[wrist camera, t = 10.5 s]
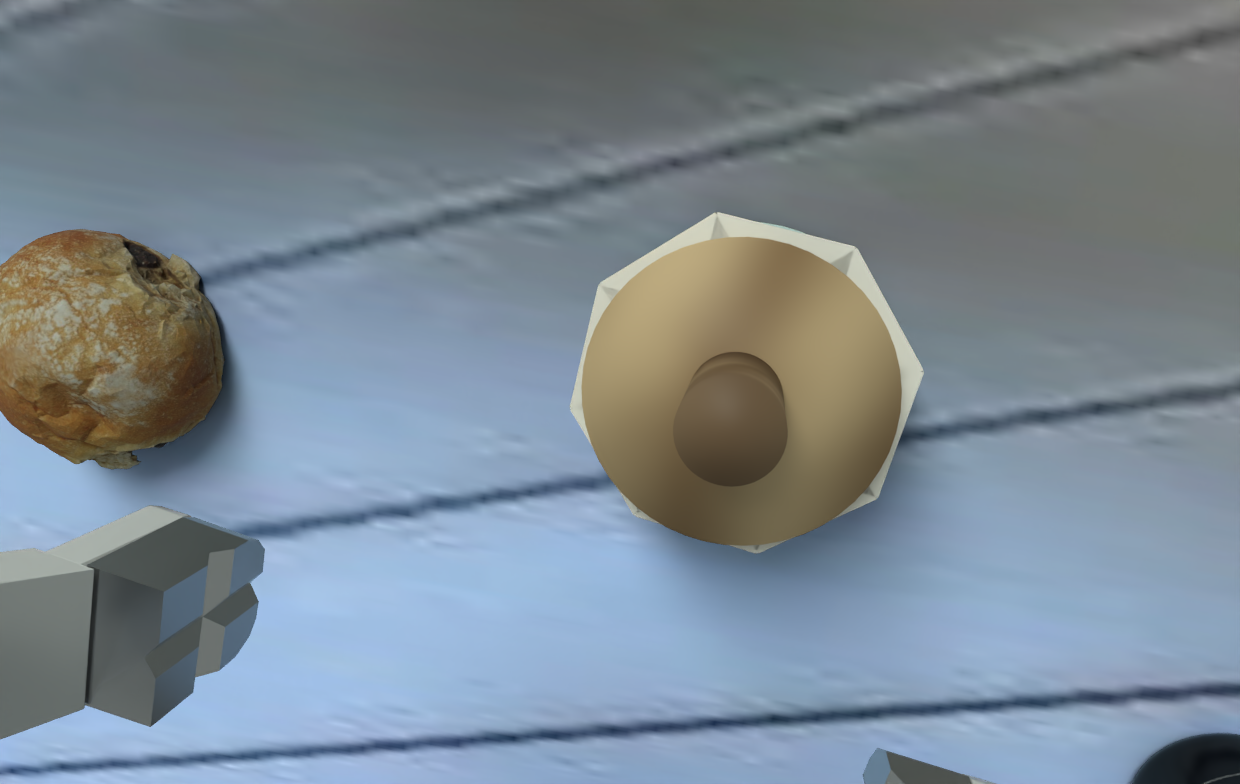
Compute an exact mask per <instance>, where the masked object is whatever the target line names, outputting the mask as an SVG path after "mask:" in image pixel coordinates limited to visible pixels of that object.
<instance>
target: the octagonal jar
mask: <svg viewBox="0 0 1240 784" xmlns="http://www.w3.org/2000/svg"><path fill="white" fill-rule="evenodd" d="M725 237H755V238H765V239H771V240H775V241H779V242H783V243H787V244H791V245H793V246H796V247H798V248H801V249H803V250H806V251H808V252H810V253H812V254H814V255H816V256H818V257H819V258H821V259H823V260H825V261H827V262H828V263H830V264H832V265H833V266H834V267H836V268H837V269H838V270H840V271H841V272H842V273H844V274H845V275H846V276H848V277H849V278H850V279H851V280H852V281H853V282H854V283H855V284H856V285H857V286H858V287H859V288H860V289H861V290H862V291H863V292H864V293H865V295H866V296H867V297H868V299H869V300H870V301H871V303H872V304H873V305H874V307H875V308H876V309H877V311H878V313H879V314H880V316H881V318H882V320H883V322H884V323H885V325H886V327H887V329H888V331H889V334H890V336H891V339H892V342H893V344H894V347H895V350H896V354H897V358H898V363H899V367H900V375H901V387H902V397H901V412H900V417H899V422H898V427H897V432H896V435H895V438H894V441H893V444H892V446H891V449H890V452H889V454H888V456H887V458H886V460H885V462H884V464H883V465H882V467H881V469H880V471H879V472H878V474H877V475H876V477H875V478H874V480H873V481H872V482H871V484H870V485H869V487H868V488H867V489H866V490H865V491H864V492H863V493H862V494H861V495H860V496H859V497H858V499H857V500H856V501H855V502H854V503H852V504H851V505H850V506H849V507H848V508H846V509H845V510H844V511H843V512H842V513H840V514H839V515H838V516H836V517H835V518H837V517H839V516H842V515H844V514H846V513H848V512H850V511H852V510H855V509H857V508H859V507H861V506H863V505H866V504H868V503H870V502H872V501H874V500H877V499H876V497H877V498H878V497H879V494H880V492H881V489H882V486H883V483H884V481H885V478H886V475H887V472H888V470H889V467H890V464H891V461H892V459H893V456H894V453H895V450H896V448H897V445H898V442H899V439H900V437H901V434H902V431H903V428H904V426H905V423H906V420H907V417H908V415H909V412H910V409H911V406H912V404H913V401H914V398H915V395H916V393H917V390H918V387H919V384H920V382H921V379H922V376H923V374H924V372H923V368H922V366H921V364H920V363H919V361H918V359H917V357H916V355H915V353H914V352H913V350H912V348H911V346H910V344H909V342H908V341H907V339H906V337H905V335H904V333H903V331H902V330H901V328H900V326H899V324H898V322H897V320H896V318H895V317H894V315H893V313H892V311H891V309H890V307H889V306H888V304H887V302H886V300H885V298H884V296H883V295H882V293H881V291H880V289H879V287H878V285H877V284H876V282H875V280H874V278H873V276H872V274H871V273H870V271H869V269H868V267H867V265H866V263H865V262H864V260H863V258H862V256H861V254H860V252H859V251H858V249H857V248H855V247H854V246H850V245H846V244H842V243H838V242H834V241H830V240H827V239H823V238H819V237H815V236H811V235H807V234H804V233H802V232H800V231H797V230H793V229H790V228H787V227H784V226H780V225H774V224H769V223H761V222H755V221H751V220H747V219H743V218H739V217H735V216H731V215H727V214H723V213H719V212H717V213H716V212H715V213H714V214H712V215H710V216H709V217H707V218H705V219H704V220H702V221H700V222H699V223H697V224H696V225H694V226H692V227H691V228H689V229H687V230H686V231H684V232H682V233H681V234H679V235H678V236H676V237H674V238H673V239H671V240H669V241H668V242H666V243H664V244H663V245H661V246H660V247H658V248H656V249H655V250H653V251H651V252H650V253H648V254H646V255H645V256H643V257H641V258H640V259H638V260H637V261H635V262H633V263H632V264H630V265H628V266H627V267H625V268H623V269H622V270H620V271H619V272H617V273H615V274H614V275H612V276H610V277H609V278H607V279H605V280H604V281H602V282H601V283H600V284H599V285H598V289H597V293H596V297H595V302H594V306H593V310H592V314H591V319H590V323H589V327H588V331H587V336H586V340H585V344H584V349H583V353H582V357H581V361H580V366H579V370H578V374H577V378H576V383H575V387H574V391H573V395H572V400H571V404H570V408H571V409H570V410H571V412H572V413H573V415H574V417H575V418H576V420H577V422H578V423H579V425H580V427H581V428H582V430H583V432H584V433H585V435H586V437H587V438H588V440H589V442H590V443H591V441H590V438H589V435H588V431H587V428H586V425H585V419H584V413H583V408H582V388H581V386H582V375H583V366H584V361H585V357H586V353H587V348H588V345H589V343H590V340H591V337H592V335H593V332H594V329H595V327H596V325H597V324H598V322H599V320H600V318H601V316H602V314H603V312H604V311H605V309H606V308H607V306H608V305H609V304H610V302H611V301H612V299H613V298H614V297H615V295H616V294H617V293H618V292H619V291H620V290H621V289H622V288H623V287H624V286H625V285H626V284H627V282H628V281H629V280H630V279H632V278H633V277H634V276H635V275H637V274H638V273H639V272H640V271H642V270H643V269H644V268H645V267H647V266H648V265H650V264H651V263H653V262H655V261H656V260H658V259H660V258H661V257H663V256H665V255H667V254H669V253H672V252H674V251H676V250H678V249H680V248H683V247H686V246H689V245H693V244H696V243H699V242H703V241H707V240H713V239H719V238H725ZM591 445H592V444H591ZM592 447H593V446H592ZM616 487H617V486H616ZM618 490H619V489H618ZM619 492H620V493H621V491H620V490H619ZM621 495H622V497H623V498H624V500H625V502H626V503H627V505H628V507H629V508H630V510H631V512H632V513H633V515H635V514H636V515H635V516H636V517H639V518H642V519H645V520H649V521H652V522H655V523H658V524H660V523H659V522H657V521H655V520H654V519H652V518H650V517H649V516H648V515H646V514H645V513H644V512H642V511H641V510H640V509H638V508H637V507H636V506H635V505H634V504H633V503H632V502H631V501H630V500H629V499H628V498H626V497H625V496H624V495H623V494H622V493H621ZM835 518H833V519H835ZM833 519H831V520H833ZM831 520H830V521H831ZM790 539H791V538H790ZM787 540H789V539H787ZM787 540H784V541H779V542H774V543H769V544H763V545H748V546H739V545H729V546H733V547H736V548H739V549H742V550H746V551H749V552H752V553H755V554H756V553H758V554H759V553H761V552H763V551H765V550H767V549H769V548H772V547H774V546H776V545H778V544H780V543H783V542H785V541H787Z"/></svg>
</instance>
